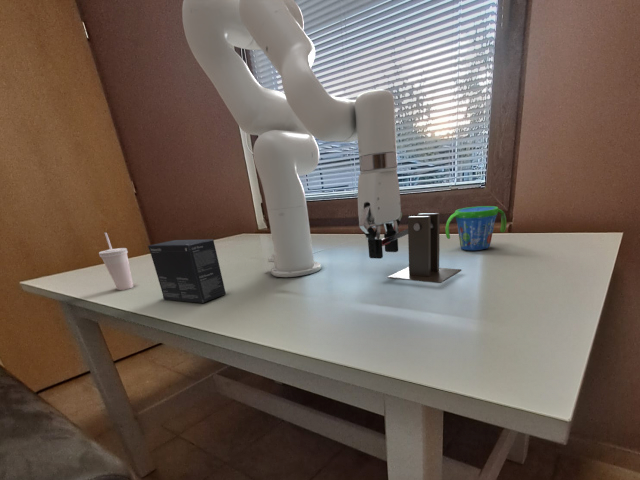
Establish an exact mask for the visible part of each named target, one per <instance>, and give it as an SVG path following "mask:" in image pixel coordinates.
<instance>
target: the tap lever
mask: <svg viewBox="0 0 640 480" xmlns="http://www.w3.org/2000/svg"><path fill="white" fill-rule="evenodd" d="M433 227H434V225H433V222H432V219H431V228H433ZM404 236H408V228H406V229H404V230H402V231H399V232H398V233H396V234H395V235H392V236H390V237H387V238H384V237H383V238H381V239H382V247H385V245H387V244H389V243H390V242H391V241H393V240H396V239H398V240H399V239H400V238H402V237H404Z"/></svg>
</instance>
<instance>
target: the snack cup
mask: <svg viewBox="0 0 640 480" xmlns="http://www.w3.org/2000/svg"><path fill="white" fill-rule="evenodd" d="M498 213H499V214H500V229H499V232H500V233H502V234H503V233H505V231H506V230H507V217H506V213H505V211H503V210H502V209H500V208H499V207H498V206H494V205H493V206H492V205H479V206H469V207H463V208H458V209H456V210H455V211H454V213H452V214H451V215H450V216H449V217H448V219H447V220H446V223H445V229H444V231H445V237H446V239H447V240H450V239H451V235H450V234H451V233H450V223H451V222H452V221H453V219H454V218H455V220H456V224H457V231H458V232H457V233H458V239H459V240H458V241H459V246H460V249H461V250H463V251H473V252H475V251H482V250H487V249H489V248H490V246H491V242H492V238H493V233H494V228H495V223H496V219H497V216H498Z"/></svg>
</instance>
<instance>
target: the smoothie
mask: <svg viewBox="0 0 640 480" xmlns="http://www.w3.org/2000/svg"><path fill="white" fill-rule="evenodd" d="M103 234H104V236H105V239H106V242H107V245H108V248H109V249H105V250H101V251H99V252H98V256H99V258H101V260H102V261H103V264H104V266H105V267H106V269H107V271H108V273H109V275H110V278H111V279H112V281H113V283H114V285H115V287H116V289H117V291H124V290H125V291H126V290H130V289H132V288H134V282H133V276H132V273H131V268H130V267H131V266H130V263H129V256H128V253H129V251H128V248H126V247H119V248H113V246H112V244H111V241H110V238H109V235H108V233H107V232H104V233H103Z"/></svg>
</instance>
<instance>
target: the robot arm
mask: <svg viewBox="0 0 640 480" xmlns="http://www.w3.org/2000/svg"><path fill="white" fill-rule="evenodd" d="M181 15H182V17H181V18H182V27H183V31H184V36H185V39H186V41H187V45H188V47H189V50H190V51H191V53H192V55H193V57H194V58H195V60H196V62H197V63H198V65H199V66H200V68H201V69H202V70H203V73H204V74H206V76H207V77H208V79H209V81H210V82H211V83H212V85H213V86H214V88H215V89H216V91H217V94H218V95H219V96H220V98H221V99H222V101H223V102H224V104H225V106H226V108H227V109H228V111H229V112H230V114H231V116H232V118H233V119H234V120H235V123H236V125H238V127H239V128H240V129H241V130H242V131H243V132H244V133H246V134H248V135H250V136H251V135H252V136H258V137H257V138H256V140H255V141H254V145H253V147H252V148H253V150H252V152H253V153H252V156H253V162H254V166H255V168H256V171H257V174H258V176H259V177H258V178H259V180H260V184H261V186H262V192H263V196H264V201H265V206H266V211H267V217H268V223H269V229H270V234H271V241H272V246H273V247H272V248H273V251H274V252H273V253H272V254H271V256H269V257H268V258H267V262H269V263H273V265H274V267H273V268H271V271H270V272H271V275H272V276H273V277H277V278H294V277H303V276H307V275H311V274H314V273H316V272H319V271H320V270H321V268H322V266H321V263H320V262H318V261H315V259H314V252H313V243H312V236H311V235H312V234H311V227H310V221H309V213H308V205H307V197H306V192H305V190H304V186H303V183H302V181H301V179H300V176H306V175H309V174H311V173H312V172H314V171H315V170H316V168H317V167H318V165H319V162H320V150H319V146H318V142H317V141H316V139H317V140H319V141H320V142H321V141H322V142H336V143H351V142H355V141H357V149H358V160H359V161H358V162H359V172H360V173H359V174H358V180H357V214H358V215H357V216H358V228H360V229H361V231H362V232H363V234H364V235H365V239H366V240H367V247H368V257H369V258H370V259H379V260H380V259H383V257H384V254H383V253H384V252H387V253H398V252H399V238H398V239H396V240H393V241H391V242H390V243H389V244H387V245H384V251H383V246H382V239H384V238H387V237H390V236H392V235H395V234H397V233H399V232H400V230H399V226H400V223H401V219H402V217H403V212H402V209H401V208H402V204H401V203H402V202H401V192H400V191H401V190H400V183H399V175H398V153H397V150H398V149H397V132H396V131H397V129H396V109H395V107H396V106H395V97H394V95H393V93H392V92H391V91H390V90H386V89H375V90H369V91H365V92H361V93H360V94H358V95H357V96H356V98H355V99H347V98H343V97H337V96H332V95H331V94H330V93H329V92H328V90H327V89H326V88H325V86H324V85H323V84H322V82H321V81H320V80H319V79H318V77H317V76H316V74H315V72H314V71H313V69H312V65H313V64H314V61H315V57H316V48H315V44H314V43H313V41H312V40H311V39H310V37H309V36H308V35H307V33H306V32H305V31H304V28H305V27H304V26H305V23H304V22H305V21H304V16H303V13H302V11H301V8H300V7H299V5H298V3H297V2H296V1H295V0H182V7H181ZM232 46H233V47H236V48H239V49H243V50H249V51H258V50H259V51H260V50H261V51H262V52H263V54H264V55H265V57H266V58H267V59H268V61H269V62H270V63H271V65H272V66H273V67H274V69H275V70H276V71H277V73H278V74H279V76H280V77H281V85H282V90H283V92H281V91H279V90H276V89H272V88H266V87H264V86H262V85H261V84H260V83H259V81H257V79H256V78H255V76H254V75H253V73H252V72H251V70H250V68H249V66H248V65H247V63H246V62H245V60H244V59H243V58H242V57H241V56H240V54H239V53H238V52H236V50H235V49H234V48H233V47H232ZM382 225H383V227H384V231H385V233H383V238H381V230H382Z"/></svg>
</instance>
